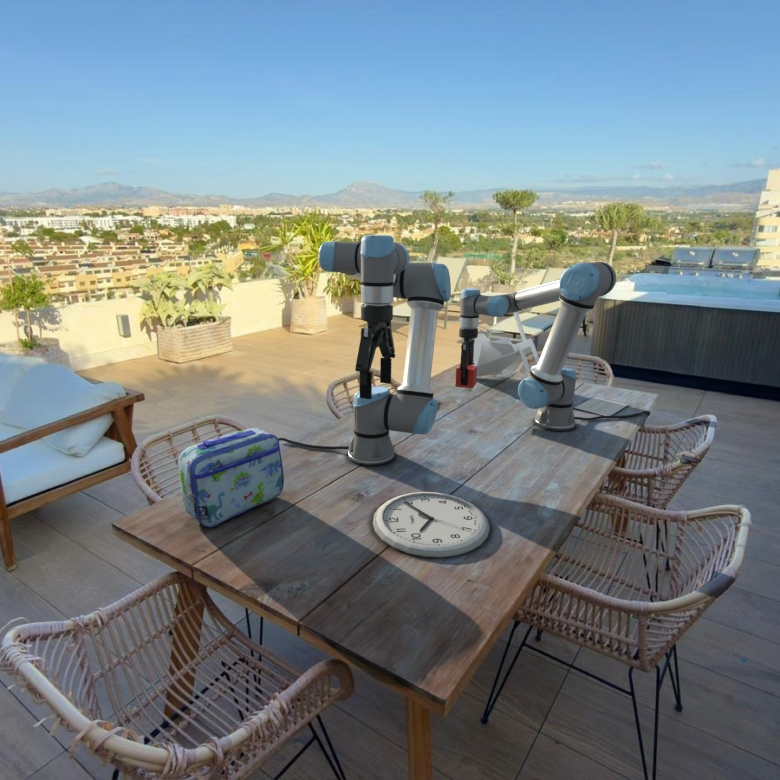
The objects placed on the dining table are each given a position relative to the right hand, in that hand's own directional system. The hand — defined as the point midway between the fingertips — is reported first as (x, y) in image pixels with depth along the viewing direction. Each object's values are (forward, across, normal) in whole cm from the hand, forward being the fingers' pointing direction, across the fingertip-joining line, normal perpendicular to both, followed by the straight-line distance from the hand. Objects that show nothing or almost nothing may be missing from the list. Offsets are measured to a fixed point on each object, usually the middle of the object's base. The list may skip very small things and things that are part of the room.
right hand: (466, 382), depth 217 cm
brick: (+1, 0, 0) cm, 1 cm away
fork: (+12, +1, -13) cm, 18 cm away
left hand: (-22, +92, -3) cm, 95 cm away
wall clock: (+13, +91, +12) cm, 92 cm away
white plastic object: (+12, -43, +8) cm, 45 cm away
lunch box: (+12, +104, -39) cm, 112 cm away
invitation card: (+12, -27, +54) cm, 62 cm away
